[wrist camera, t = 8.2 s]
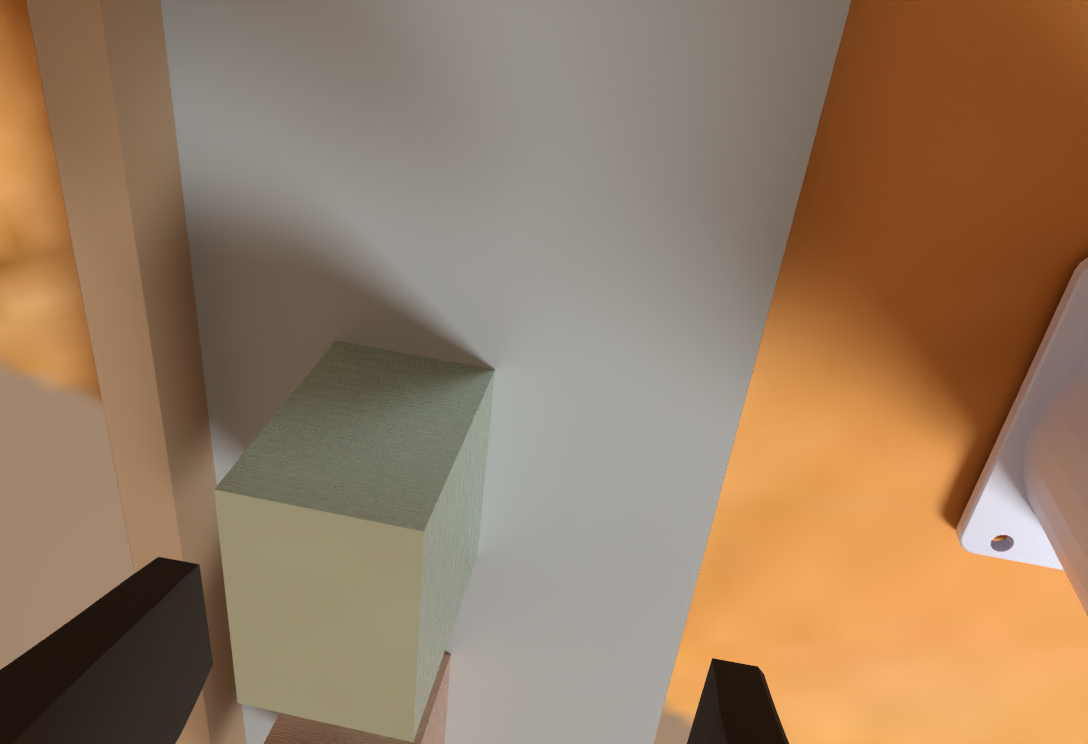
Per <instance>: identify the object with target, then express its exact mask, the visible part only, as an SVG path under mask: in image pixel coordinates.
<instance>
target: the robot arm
mask: <svg viewBox="0 0 1088 744" xmlns="http://www.w3.org/2000/svg"><path fill="white" fill-rule="evenodd" d="M956 534H957V537H958V539H959V542H960V544H961V546H962V547H963V548H964V549H965V550H966V551H969V552H971V553H975V554H980V555H986V556H991V557H996V558H1002V559H1007V560H1012V561H1018V562H1023V563H1028V564H1034V565H1039V566H1044V567H1050V568H1055V569H1060V570H1064V571H1065V573H1066V575H1067V577H1068V579H1069V581H1070V583H1071V585H1072V587H1073V589H1074V591H1075V593H1076V595H1077V596H1078V598H1079V600H1080V602H1081V604H1082V606H1083V608H1084V610H1085V612H1086V614H1087V616H1088V257H1087V258H1086V259H1085V260H1083V261H1082V262H1081V263H1079V265H1078V266H1077V268H1076V269H1075V270H1074V272H1073V274H1072V277H1071V279H1070V281H1069V283H1068V285H1067V288H1066V290H1065V292H1064V294H1063V296H1062V298H1061V301H1060V303H1059V305H1058V307H1057V309H1056V312H1055V314H1054V316H1053V318H1052V320H1051V323H1050V325H1049V327H1048V329H1047V331H1046V333H1045V336H1044V338H1043V340H1042V342H1041V344H1040V347H1039V349H1038V351H1037V353H1036V355H1035V357H1034V360H1033V362H1032V364H1031V366H1030V368H1029V371H1028V373H1027V375H1026V377H1025V379H1024V381H1023V384H1022V386H1021V388H1020V390H1019V392H1018V395H1017V397H1016V399H1015V401H1014V403H1013V405H1012V408H1011V410H1010V412H1009V414H1008V416H1007V419H1006V421H1005V423H1004V425H1003V427H1002V430H1001V432H1000V434H999V436H998V438H997V440H996V443H995V445H994V447H993V449H992V451H991V454H990V456H989V458H988V460H987V462H986V464H985V467H984V469H983V471H982V473H981V475H980V478H979V480H978V482H977V484H976V486H975V488H974V491H973V493H972V495H971V497H970V499H969V502H968V504H967V506H966V508H965V510H964V513H963V515H962V517H961V519H960V521H959V523H958V526H957V530H956ZM999 535H1007V537H1006V538H1005V539H1003V540H1000V541H993V538H994V537H997V536H999ZM212 666H213V659H212V652H211V645H210V637H209V630H208V623H207V615H206V608H205V601H204V593H203V586H202V579H201V571H200V564H195V563H190V562H185V561H179V560H174V559H168V558H163V557H157V558H156V559H154V560H153V561H151V562H150V563H149V564H147V565H146V566H144V567H143V568H142V569H140V570H139V571H137V572H136V573H135V574H133V575H132V576H130V577H129V578H128V579H126V580H125V581H124V582H122V583H121V584H120V585H118V586H117V587H115V588H114V589H113V590H111V591H110V592H109V593H107V594H106V595H104V596H103V597H102V598H100V599H99V600H98V601H96V602H95V603H94V604H92V605H91V606H90V607H88V608H87V609H86V610H84V611H83V612H81V613H80V614H79V615H77V616H76V617H75V618H73V619H72V620H70V621H69V622H68V623H66V624H65V625H64V626H62V627H61V628H59V629H58V630H57V631H55V632H54V633H53V634H51V635H50V636H48V637H47V638H45V639H44V640H42V641H41V642H40V643H38V644H37V645H35V646H34V647H32V648H31V649H30V650H28V651H27V652H25V653H24V654H23V655H21V656H20V657H18V658H17V659H15V660H14V661H13V662H11V663H10V664H8V665H7V666H5V667H4V668H2V669H1V670H0V744H175V743H176V742H177V740H178V738H179V737H180V735H181V733H182V731H183V729H184V727H185V725H186V723H187V721H188V718H189V716H190V714H191V712H192V710H193V708H194V706H195V704H196V702H197V699H198V697H199V695H200V693H201V690H202V688H203V686H204V684H205V681H206V679H207V677H208V675H209V672H210V670H211V668H212ZM687 744H789V742H788V740H787V737H786V735H785V732H784V730H783V727H782V724H781V722H780V719H779V716H778V714H777V711H776V708H775V706H774V703H773V700H772V697H771V694H770V691H769V688H768V685H767V682H766V679H765V676H764V674H763V673H762V671H761V670H760V669H759V667H757V666H751V665H746V664H740V663H735V662H729V661H724V660H719V659H713V658H712V661H711V665H710V668H709V671H708V675H707V678H706V681H705V685H704V688H703V691H702V695H701V698H700V701H699V705H698V708H697V712H696V715H695V718H694V722H693V725H692V728H691V732H690V735H689V739H688V742H687Z"/></svg>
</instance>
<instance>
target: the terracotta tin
mask: <svg viewBox="0 0 1088 744" xmlns="http://www.w3.org/2000/svg"><path fill="white" fill-rule="evenodd" d="M450 662H451V654H449V653H444V655H443V657H442V660H441V663H440V666H439V669H438V672H437V675H436V678H435V681H434V684H433V686H432V689H431V692H430V695H429V698H428V701H427V704H426V707H425V710H424V713H423V715H422V718H421V721H420V724H419V727H418V730H417V733H416V736H415V739H414V742H409V741H405V740H400V739H396V738H391V737H387V736H383V735H378V734H374V733H369V732H365V731H360V730H356V729H351V728H347V727H342V726H338V725H333V724H329V723H324V722H320V721H315V720H311V719H307V718H302V717H298V716H293V715H289V714H284V713H279V715H278V717H277V719H276V721H275V722H274V724H273V726H272V728H271V730H270V732H269V734H268V736H267V738H266V740H265V742H264V744H445V733H446V718H447V704H448V690H449V676H450Z"/></svg>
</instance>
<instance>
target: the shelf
mask: <svg viewBox="0 0 1088 744" xmlns="http://www.w3.org/2000/svg"><path fill="white" fill-rule="evenodd" d="M26 3H27V9H28V14H29V19H30V25H31V30H32V35H33V40H34V46H35V51H36V56H37V61H38V67H39V72H40V77H41V82H42V88H43V93H44V98H45V104H46V109H47V114H48V119H49V125H50V130H51V135H52V140H53V146H54V151H55V156H56V161H57V167H58V172H59V177H60V182H61V188H62V193H63V198H64V204H65V209H66V214H67V219H68V225H69V230H70V235H71V240H72V246H73V251H74V256H75V261H76V267H77V272H78V277H79V282H80V288H81V293H82V298H83V304H84V309H85V314H86V319H87V325H88V330H89V335H90V340H91V346H92V351H93V356H94V361H95V367H96V372H97V377H98V383H99V388H100V393H101V398H102V404H103V409H104V414H105V419H106V425H107V430H108V434H109V440H110V445H111V450H112V456H113V461H114V467H115V472H116V477H117V482H118V487H119V493H120V498H121V504H122V509H123V514H124V519H125V524H126V529H127V535H128V540H129V546H130V551H131V556H132V561H133V567H134V572H135V573H136V572H137V571H139V570H140V569H142V568H143V567H144V566H146V565H147V564H149V563H150V562H151V561H153V560H154V559H156V558H157V557H163V558H168V559H174V560H179V561H185V562H190V563H195V564H200V571H201V579H202V586H203V593H204V601H205V608H206V615H207V623H208V630H209V637H210V645H211V652H212V659H213V666H212V668H211V670H210V672H209V675H208V677H207V679H206V681H205V684H204V686H203V688H202V690H201V693H200V695H199V697H198V699H197V702H196V704H195V706H194V708H193V710H192V712H191V714H190V716H189V718H188V721H187V723H186V725H185V727H184V729H183V731H182V733H181V735H180V737H179V738H178V740H177V742H176V743H175V744H264V742H265V740H266V738H267V736H268V734H269V732H270V730H271V728H272V726H273V724H274V722H275V721H276V719H277V717H278V715H279V713H280V712H275V711H271V710H266V709H262V708H257V707H253V706H248V705H244V704H239V703H238V702H237V693H236V684H235V675H234V666H233V657H232V648H231V639H230V630H229V621H228V612H227V603H226V594H225V585H224V576H223V567H222V558H221V549H220V540H219V531H218V522H217V513H216V504H215V495H214V489H215V488H216V486H217V485H218V484H219V483H220V481H221V480H222V479H223V478H224V477H225V475H226V474H227V473H228V472H229V470H230V469H231V468H232V467H233V466H234V464H235V463H236V462H237V461H238V459H239V458H240V457H241V456H242V454H243V453H244V452H245V451H246V450H247V448H248V447H249V446H250V445H251V443H252V442H253V441H254V440H255V439H256V437H257V436H258V435H259V434H260V432H261V431H262V430H263V429H264V428H265V426H266V425H267V424H268V423H269V421H270V420H271V419H272V418H273V417H274V415H275V414H276V413H277V412H278V410H279V409H280V408H281V407H282V406H283V404H284V403H285V402H286V401H287V399H288V398H289V397H290V396H291V395H292V393H293V392H294V391H295V390H296V388H297V387H298V386H299V385H300V384H301V382H302V381H303V380H304V379H305V377H306V376H307V375H308V374H309V373H310V371H311V370H312V369H313V368H314V366H315V365H316V364H317V363H318V362H319V360H320V359H321V358H322V357H323V355H324V354H325V353H326V352H327V351H328V349H329V348H330V347H331V346H332V344H333V343H334V342H335V341H341V342H346V343H352V344H357V345H363V346H368V347H374V348H379V349H385V350H390V351H396V352H401V353H407V354H412V355H418V356H423V357H429V358H434V359H440V360H445V361H450V362H456V363H461V364H467V365H472V366H478V367H483V368H489V369H494V370H495V377H494V388H493V398H492V409H491V419H490V430H489V441H488V451H487V462H486V472H485V483H484V494H483V504H482V515H481V525H480V536H479V547H478V556H477V559H476V562H475V565H474V568H473V570H472V573H471V576H470V579H469V582H468V585H467V588H466V591H465V594H464V597H463V599H462V602H461V605H460V608H459V611H458V614H457V617H456V620H455V623H454V626H453V628H452V631H451V634H450V637H449V640H448V643H447V646H446V649H445V652H444V653H449V654H451V662H450V676H449V690H448V704H447V718H446V733H445V744H654V740H655V736H656V732H657V728H658V725H659V721H660V717H661V714H662V710H663V706H664V702H665V699H666V695H667V691H668V687H669V684H670V680H671V676H672V672H673V669H674V665H675V661H676V657H677V654H678V650H679V646H680V642H681V639H682V635H683V631H684V627H685V624H686V620H687V616H688V612H689V609H690V605H691V601H692V597H693V594H694V590H695V586H696V582H697V579H698V575H699V571H700V567H701V563H702V560H703V556H704V552H705V548H706V545H707V541H708V537H709V533H710V530H711V526H712V522H713V518H714V515H715V511H716V507H717V503H718V500H719V496H720V492H721V488H722V485H723V481H724V477H725V473H726V470H727V466H728V462H729V458H730V455H731V451H732V447H733V443H734V440H735V436H736V432H737V428H738V425H739V421H740V417H741V413H742V410H743V406H744V402H745V398H746V395H747V391H748V387H749V383H750V380H751V376H752V372H753V368H754V365H755V361H756V357H757V353H758V350H759V346H760V342H761V338H762V335H763V331H764V327H765V323H766V319H767V316H768V312H769V308H770V304H771V301H772V297H773V293H774V289H775V286H776V282H777V278H778V274H779V271H780V267H781V263H782V259H783V256H784V252H785V248H786V244H787V241H788V237H789V233H790V229H791V226H792V222H793V218H794V214H795V211H796V207H797V203H798V199H799V196H800V192H801V188H802V184H803V181H804V177H805V173H806V169H807V166H808V162H809V158H810V154H811V151H812V147H813V143H814V139H815V136H816V132H817V128H818V124H819V121H820V117H821V113H822V109H823V106H824V102H825V98H826V94H827V91H828V87H829V83H830V79H831V75H832V72H833V68H834V64H835V60H836V57H837V53H838V49H839V45H840V42H841V38H842V34H843V30H844V27H845V23H846V19H847V15H848V12H849V8H850V4H851V0H26Z"/></svg>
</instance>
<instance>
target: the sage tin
mask: <svg viewBox="0 0 1088 744" xmlns="http://www.w3.org/2000/svg"><path fill="white" fill-rule="evenodd" d="M494 377H495V370H494V369H489V368H483V367H478V366H472V365H467V364H461V363H456V362H450V361H445V360H440V359H434V358H429V357H423V356H418V355H412V354H407V353H401V352H396V351H390V350H385V349H379V348H374V347H368V346H363V345H357V344H352V343H346V342H341V341H335V342H334V343H333V344H332V346H331V347H330V348H329V349H328V351H327V352H326V353H325V354H324V355H323V357H322V358H321V359H320V360H319V362H318V363H317V364H316V365H315V366H314V368H313V369H312V370H311V371H310V373H309V374H308V375H307V376H306V377H305V379H304V380H303V381H302V382H301V384H300V385H299V386H298V387H297V388H296V390H295V391H294V392H293V393H292V395H291V396H290V397H289V398H288V399H287V401H286V402H285V403H284V404H283V406H282V407H281V408H280V409H279V410H278V412H277V413H276V414H275V415H274V417H273V418H272V419H271V420H270V421H269V423H268V424H267V425H266V426H265V428H264V429H263V430H262V431H261V432H260V434H259V435H258V436H257V437H256V439H255V440H254V441H253V442H252V443H251V445H250V446H249V447H248V448H247V450H246V451H245V452H244V453H243V454H242V456H241V457H240V458H239V459H238V461H237V462H236V463H235V464H234V466H233V467H232V468H231V469H230V470H229V472H228V473H227V474H226V475H225V477H224V478H223V479H222V480H221V481H220V483H219V484H218V485H217V486H216V488H215V489H214V495H215V504H216V513H217V522H218V531H219V540H220V549H221V558H222V567H223V576H224V585H225V594H226V603H227V612H228V621H229V630H230V639H231V648H232V657H233V666H234V675H235V684H236V693H237V702H238V703H239V704H244V705H248V706H253V707H257V708H262V709H266V710H271V711H275V712H280V713H284V714H289V715H293V716H298V717H302V718H307V719H311V720H315V721H320V722H324V723H329V724H333V725H338V726H342V727H347V728H351V729H356V730H360V731H365V732H369V733H374V734H378V735H383V736H387V737H391V738H396V739H400V740H405V741H409V742H414V739H415V736H416V733H417V730H418V727H419V724H420V721H421V718H422V715H423V713H424V710H425V707H426V704H427V701H428V698H429V695H430V692H431V689H432V686H433V684H434V681H435V678H436V675H437V672H438V669H439V666H440V663H441V660H442V657H443V655H444V652H445V649H446V646H447V643H448V640H449V637H450V634H451V631H452V628H453V626H454V623H455V620H456V617H457V614H458V611H459V608H460V605H461V602H462V599H463V597H464V594H465V591H466V588H467V585H468V582H469V579H470V576H471V573H472V570H473V568H474V565H475V562H476V559H477V556H478V547H479V536H480V525H481V515H482V504H483V494H484V483H485V472H486V462H487V451H488V441H489V430H490V419H491V409H492V398H493V388H494Z"/></svg>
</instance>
